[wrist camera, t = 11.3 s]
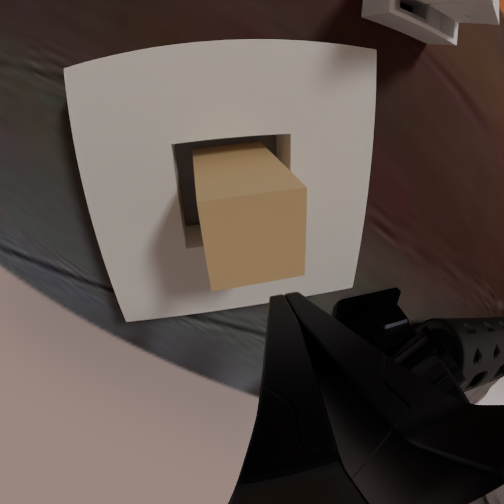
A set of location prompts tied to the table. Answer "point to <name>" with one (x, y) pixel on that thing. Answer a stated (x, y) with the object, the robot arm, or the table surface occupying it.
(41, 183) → the table surface
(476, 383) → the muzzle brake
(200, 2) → the table surface
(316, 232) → the socket plate
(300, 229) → the plug
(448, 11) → the white angled block
